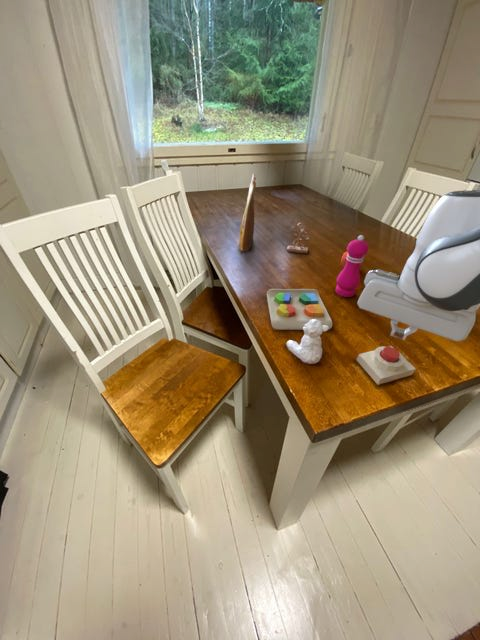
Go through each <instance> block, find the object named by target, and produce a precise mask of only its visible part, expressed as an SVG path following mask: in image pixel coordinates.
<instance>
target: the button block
mask: <svg viewBox="0 0 480 640" xmlns="http://www.w3.org/2000/svg"><path fill="white" fill-rule="evenodd" d="M385 347H386V346H385V345H384V346H383V345H382V346H379V347H376V348H375V350H370V351H366V352H362V353H359V354H358V355H357V358H356V362H357V363H358V364H359V365H360V366H361V367H362V369H364V371H365V372H366V373H367V374H368V375H369V376H370V378H371V379H372V380H373V381H374V382H375V384H376V385H378V386H379V385H383V384H386V383H389V382H393V381H396V380H399V379H402V378H406V377H410V376H412V375H413V374H414V373H415V371H416V370H417V368H416V367H415V366H414V365H413V364H412V363H410V362H409V360H407V359H406V358H405V357H404V355H403V354H402V353H401V352H400V351H399V350H397V351H398V352H399V353H400V356H399V358H398V360H397V361H396V362H394V363H391V362H387V361H385V360H384V359H383V358H382V357H381V353H382V351H383V349H384V348H385ZM389 347H392V348H394V347H393V346H392V345H390V346H389Z"/></svg>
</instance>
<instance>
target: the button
mask: <svg viewBox="0 0 480 640" xmlns="http://www.w3.org/2000/svg"><path fill="white" fill-rule="evenodd" d="M384 347H385V348H384V349H383V351H382V353H381V357H382V358H383V359H384V360H385V361H387V362H391V363H394V362H396V361H397V360H398V358H399V356H400V353H401V352H400V351H399V350H397V348H394V347H393V346H392V347H393V348H392V347H390V346H384ZM398 351H399V352H400V353H399V352H398Z"/></svg>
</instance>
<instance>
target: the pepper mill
mask: <svg viewBox="0 0 480 640" xmlns="http://www.w3.org/2000/svg"><path fill="white" fill-rule="evenodd" d="M364 239H365V236H364V235H362V234H360V235H358V236H357V239H353V240H352V241H350V242H349V243H348V244H347V248H346V252H347V251H348V254H347V257H346V259H347V263H346V265H345V267H343V269H342V270H341V271H340V272H339V274H338V275H337V277H336V286H335V293H336V294H337V295H339V296H340V297H345V298H351V297H353V296H355V293H356V290H357V289H356V288H358V287H359V286H360V283H361V275H360V268H361V267H360V264H361V262H363V259H364V260H365V256H366V255H367V254H368V252H369V247H370V246H369V243H368V242H367V241H366V240H364ZM363 263H364V262H363ZM359 267H360V268H359Z"/></svg>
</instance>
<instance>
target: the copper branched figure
mask: <svg viewBox="0 0 480 640" xmlns="http://www.w3.org/2000/svg"><path fill="white" fill-rule="evenodd" d="M300 224H301V225H300ZM305 229H306V224H305V223H304V222H298V223H297V224H296V226H293V225H292V226H290V232H291V235H293V236H295V238H294V240H293V242H292V243H291V244H290V245H287V248H286V252H291V253H292V252H293V253H301V254H308V253H309V248H308V247H307V246H306V245H305V243H304V240H305V241H308V240H309V239H310V234H309V233H308V231H305ZM293 231H295V232H296V233H294V232H293ZM303 233H306V234H307V235H304V234H303ZM297 234H298V235H297ZM301 234H302V237H301ZM297 236H298V237H297ZM296 240H297V241H298V242H296ZM300 241H301V242H302V244H303V245H301V243H300ZM295 242H296V244H294V243H295Z"/></svg>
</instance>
